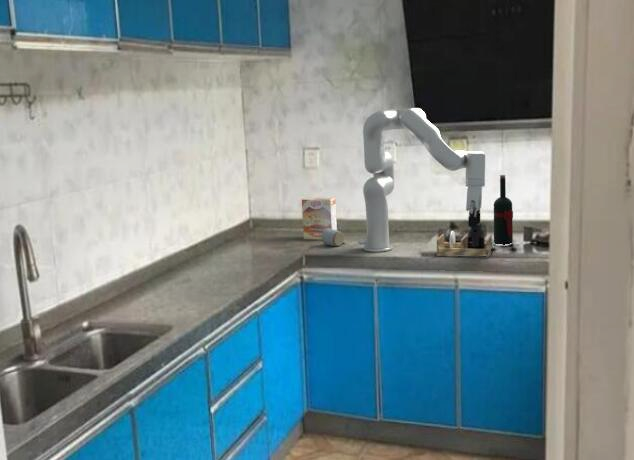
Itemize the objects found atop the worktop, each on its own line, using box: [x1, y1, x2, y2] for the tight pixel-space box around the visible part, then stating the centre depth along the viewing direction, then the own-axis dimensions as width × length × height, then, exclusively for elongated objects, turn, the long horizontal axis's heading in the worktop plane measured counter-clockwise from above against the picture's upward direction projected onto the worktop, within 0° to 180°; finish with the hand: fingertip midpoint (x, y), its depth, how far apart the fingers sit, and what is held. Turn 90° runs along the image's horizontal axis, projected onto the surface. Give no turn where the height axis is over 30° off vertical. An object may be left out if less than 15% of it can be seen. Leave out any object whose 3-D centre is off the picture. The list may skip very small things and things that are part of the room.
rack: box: [436, 233, 493, 257], centre depth 294 cm, size 20×12×7 cm, turn 69°
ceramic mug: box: [321, 228, 347, 247], centre depth 326 cm, size 11×8×8 cm
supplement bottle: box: [466, 221, 485, 249], centre depth 292 cm, size 7×7×12 cm
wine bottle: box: [493, 174, 514, 245], centre depth 304 cm, size 8×10×30 cm
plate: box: [449, 230, 456, 248], centre depth 296 cm, size 1×9×9 cm, turn 160°
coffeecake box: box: [301, 197, 338, 241], centre depth 342 cm, size 15×7×20 cm, turn 67°
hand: (474, 224), depth 291 cm, fingers open, 9 cm apart
